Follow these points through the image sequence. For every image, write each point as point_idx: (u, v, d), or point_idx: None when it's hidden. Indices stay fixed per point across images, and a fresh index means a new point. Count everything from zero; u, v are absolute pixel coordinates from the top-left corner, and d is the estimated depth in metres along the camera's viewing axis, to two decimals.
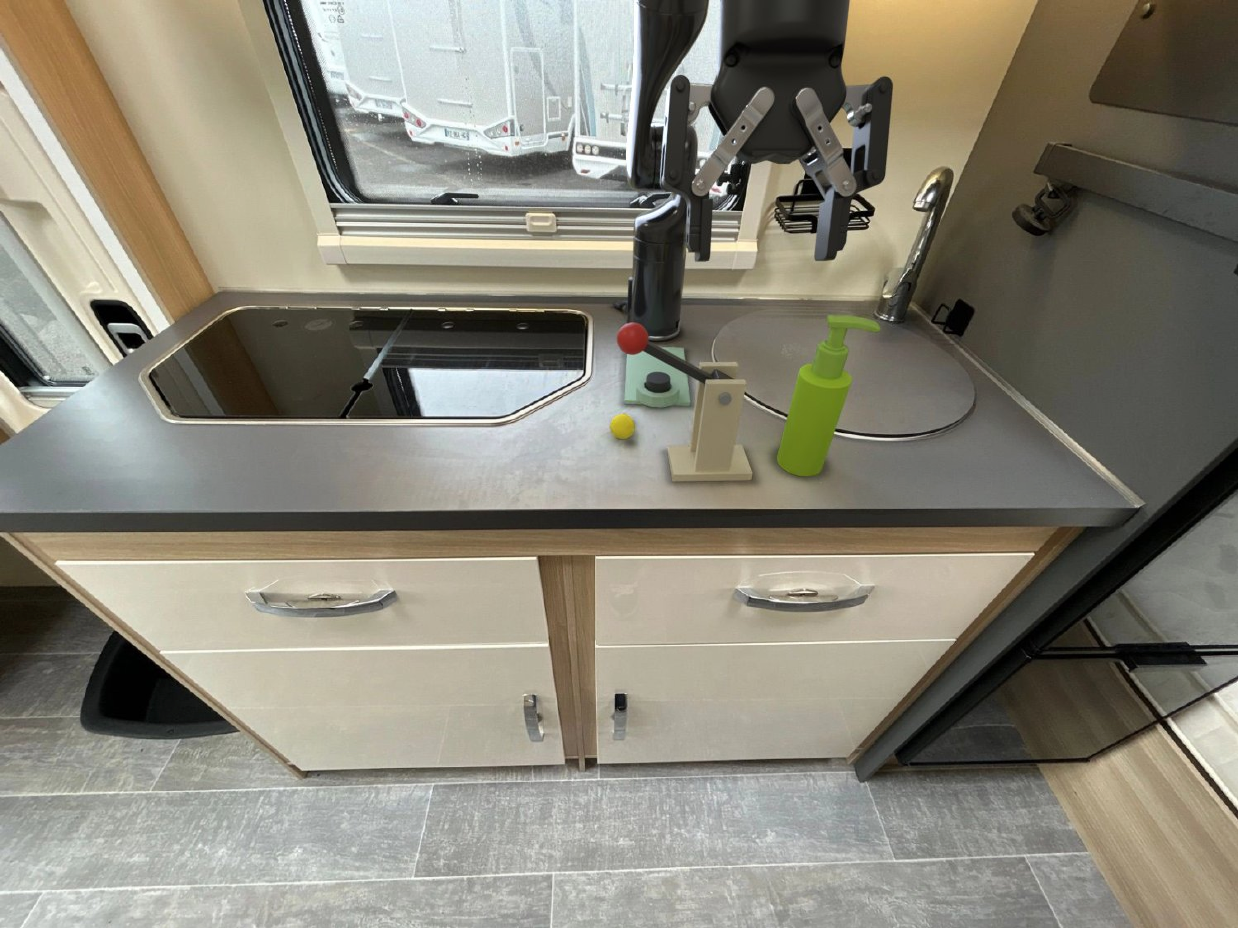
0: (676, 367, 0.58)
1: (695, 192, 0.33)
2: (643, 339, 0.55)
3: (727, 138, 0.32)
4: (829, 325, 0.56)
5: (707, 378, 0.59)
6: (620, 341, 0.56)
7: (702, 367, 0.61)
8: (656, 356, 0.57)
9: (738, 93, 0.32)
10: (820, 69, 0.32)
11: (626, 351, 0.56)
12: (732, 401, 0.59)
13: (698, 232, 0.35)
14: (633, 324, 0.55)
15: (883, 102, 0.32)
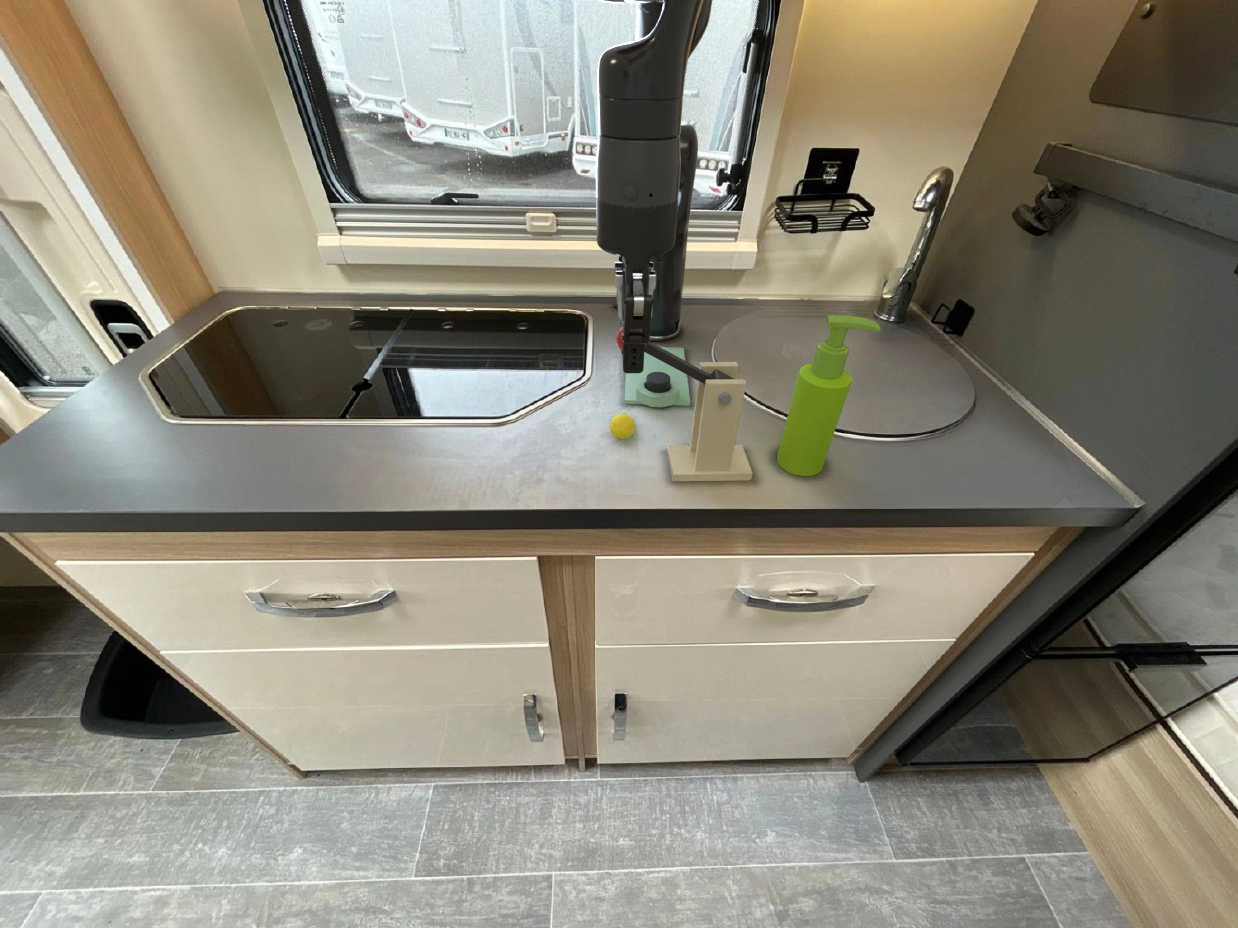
0: (676, 367, 0.58)
1: None
2: None
3: (616, 291, 0.55)
4: (829, 325, 0.56)
5: (707, 378, 0.59)
6: (620, 341, 0.56)
7: (702, 367, 0.61)
8: (656, 356, 0.57)
9: (622, 258, 0.54)
10: (625, 262, 0.49)
11: None
12: (732, 401, 0.59)
13: None
14: None
15: (625, 308, 0.48)
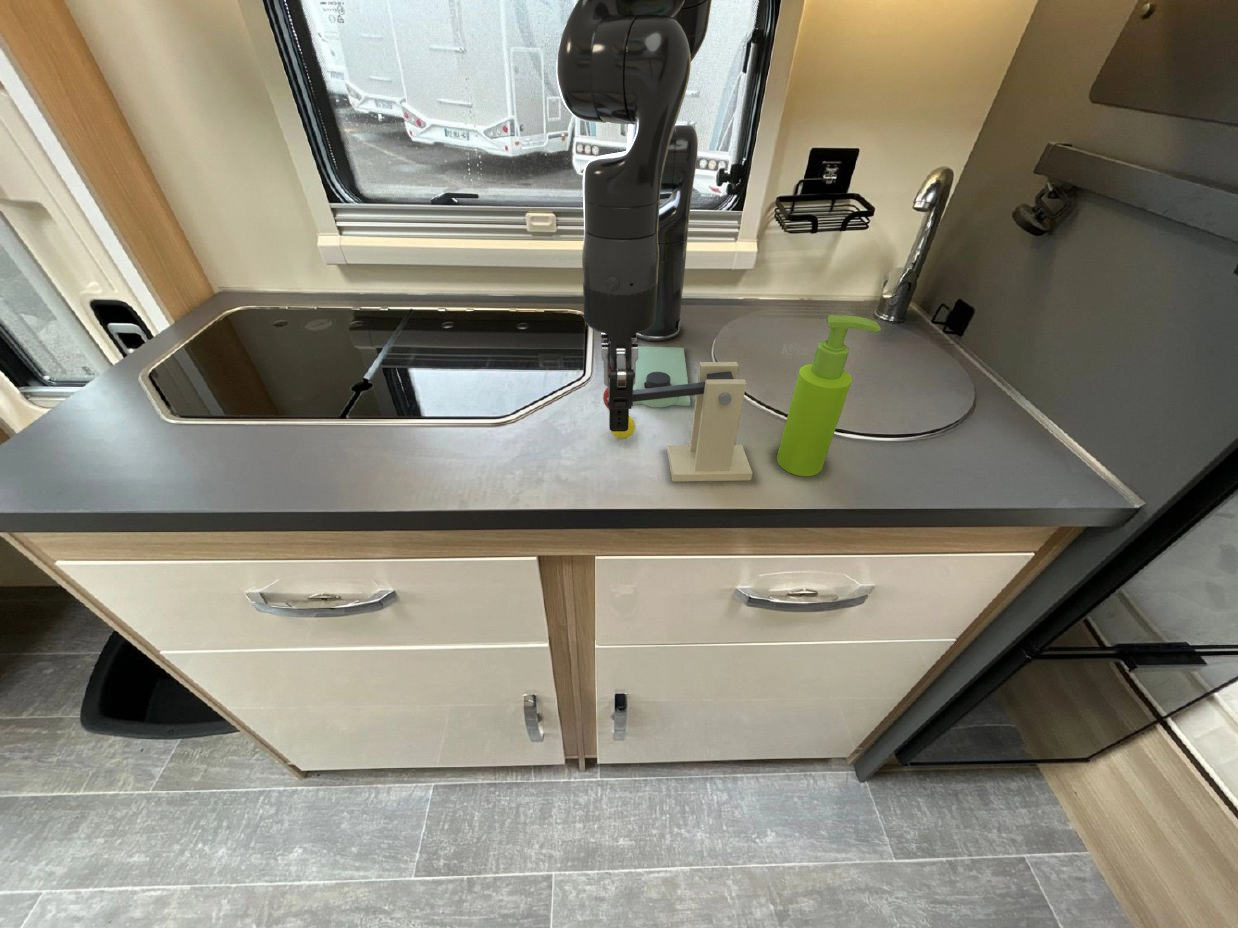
0: (668, 396, 0.61)
1: None
2: None
3: None
4: (829, 325, 0.56)
5: (702, 388, 0.60)
6: (607, 407, 0.61)
7: (702, 367, 0.61)
8: (645, 399, 0.61)
9: None
10: None
11: None
12: (732, 401, 0.59)
13: None
14: None
15: (609, 381, 0.53)
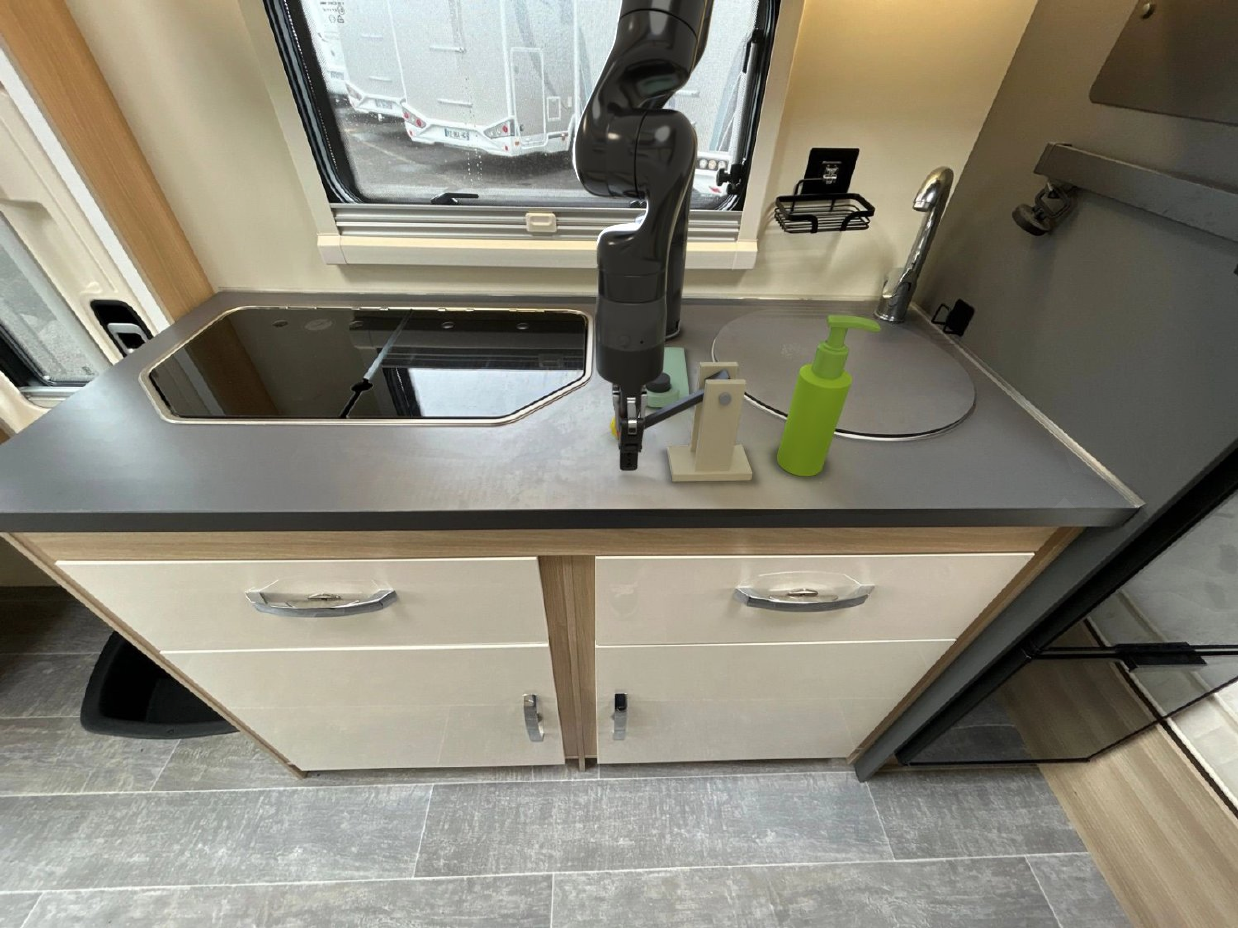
0: (674, 413, 0.62)
1: None
2: None
3: None
4: (829, 325, 0.56)
5: (702, 395, 0.61)
6: None
7: (702, 367, 0.61)
8: (654, 423, 0.63)
9: None
10: (620, 387, 0.58)
11: None
12: (732, 401, 0.59)
13: None
14: None
15: None
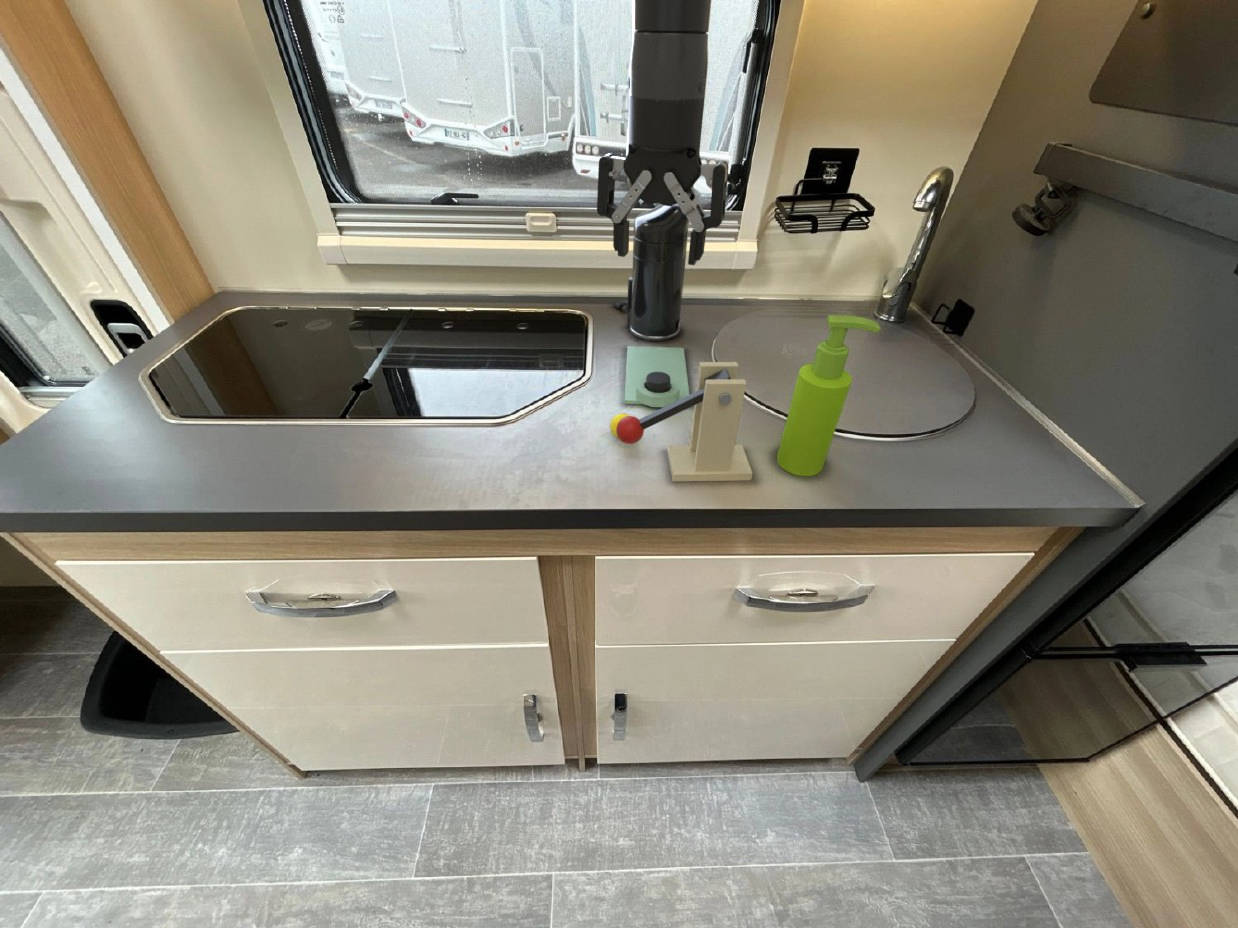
0: (674, 413, 0.62)
1: (613, 221, 0.60)
2: (631, 427, 0.62)
3: (627, 195, 0.57)
4: (829, 325, 0.56)
5: (702, 395, 0.61)
6: (623, 441, 0.64)
7: (702, 367, 0.61)
8: (654, 422, 0.63)
9: (635, 168, 0.56)
10: (681, 158, 0.54)
11: (633, 442, 0.64)
12: (732, 401, 0.59)
13: (618, 241, 0.62)
14: (618, 424, 0.63)
15: (719, 180, 0.54)
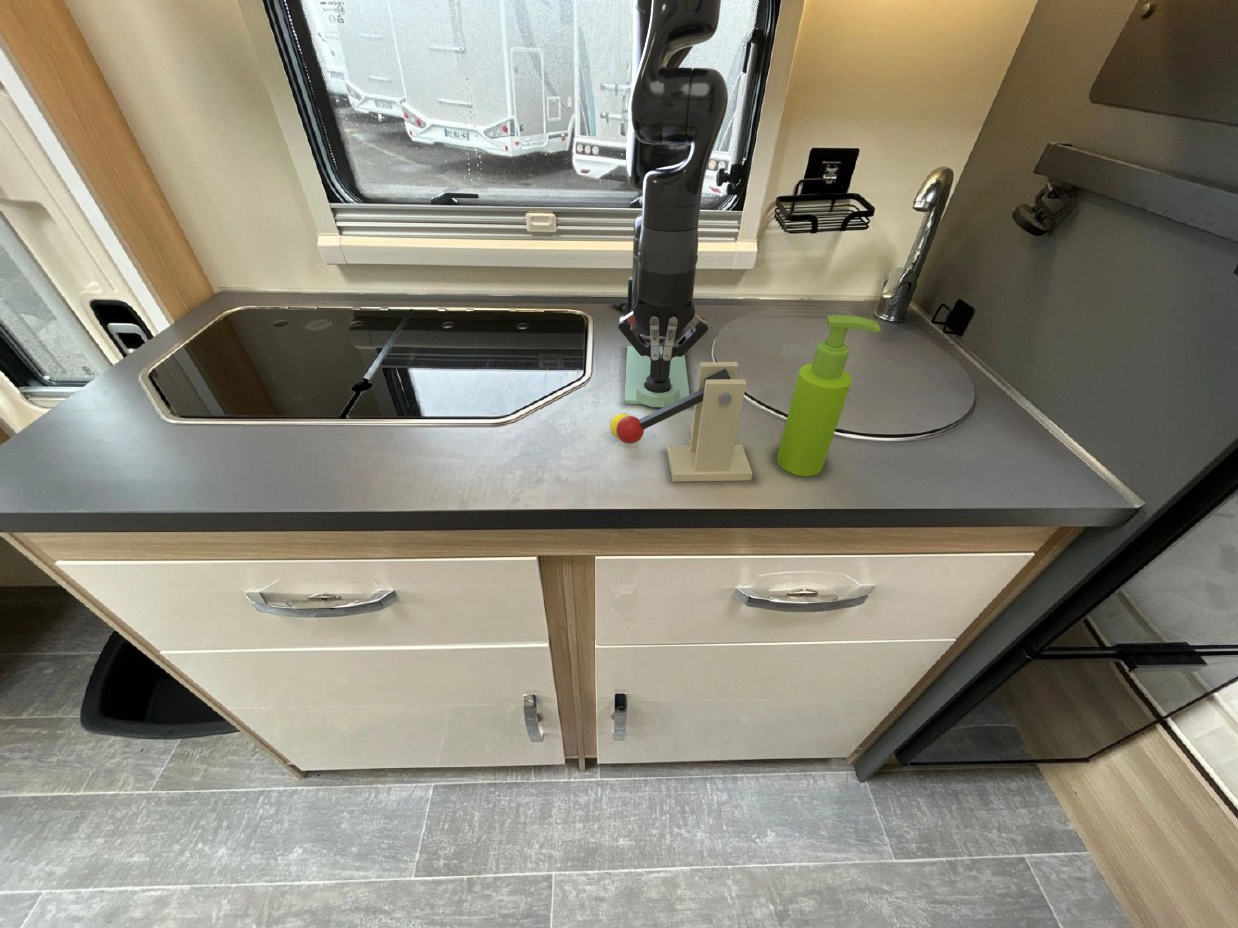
0: (674, 413, 0.62)
1: (654, 360, 0.75)
2: (631, 427, 0.62)
3: (651, 339, 0.72)
4: (829, 325, 0.56)
5: (702, 395, 0.61)
6: (623, 441, 0.64)
7: (702, 367, 0.61)
8: (654, 422, 0.63)
9: (644, 314, 0.71)
10: (681, 306, 0.70)
11: (633, 442, 0.64)
12: (732, 401, 0.59)
13: (654, 371, 0.77)
14: (618, 424, 0.63)
15: (700, 333, 0.72)
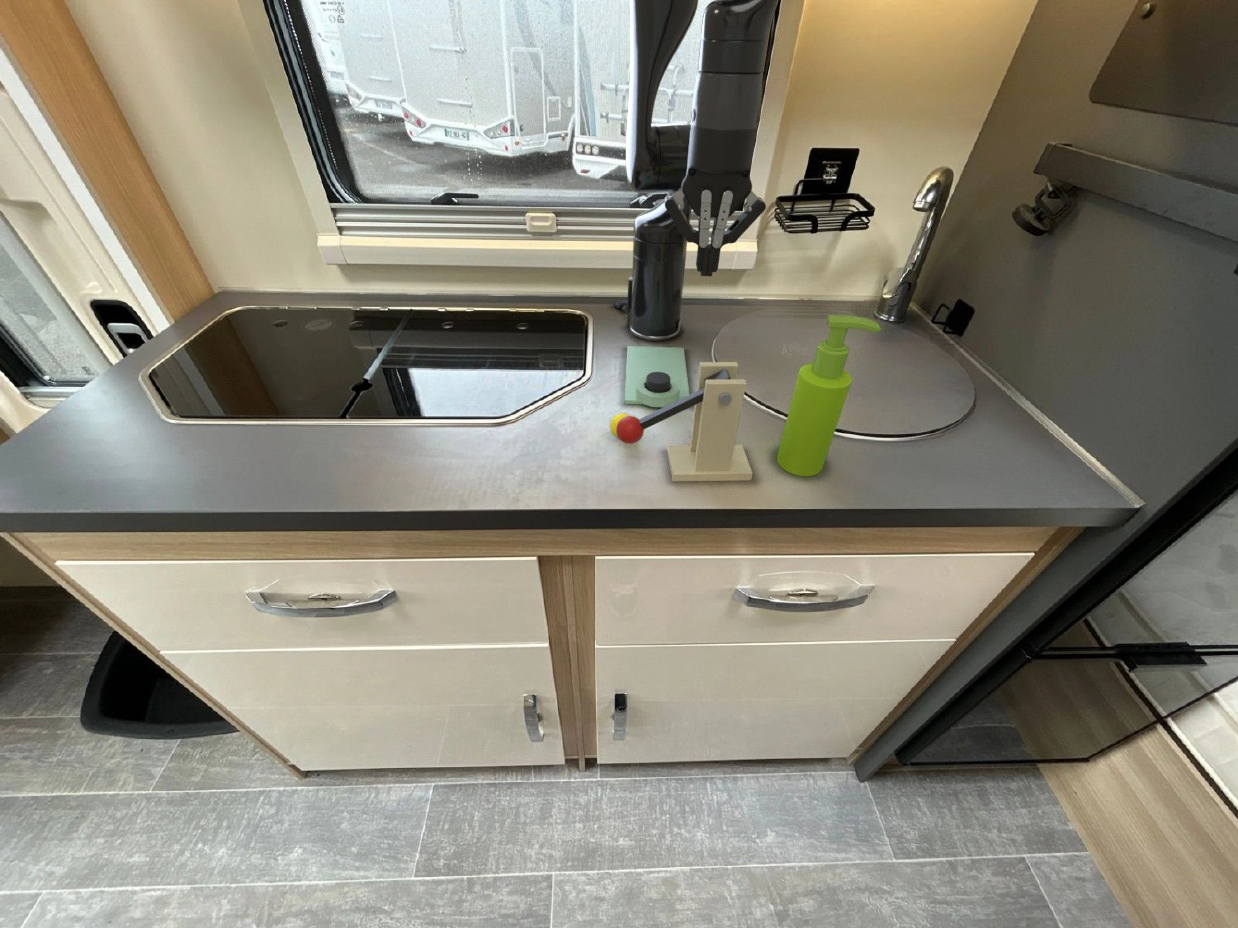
0: (674, 413, 0.62)
1: (703, 247, 0.67)
2: (631, 427, 0.62)
3: (702, 220, 0.65)
4: (829, 325, 0.56)
5: (702, 395, 0.61)
6: (623, 441, 0.64)
7: (702, 367, 0.61)
8: (654, 422, 0.63)
9: (694, 188, 0.63)
10: (737, 178, 0.62)
11: (633, 442, 0.64)
12: (732, 401, 0.59)
13: (701, 262, 0.69)
14: (618, 424, 0.63)
15: (756, 213, 0.64)
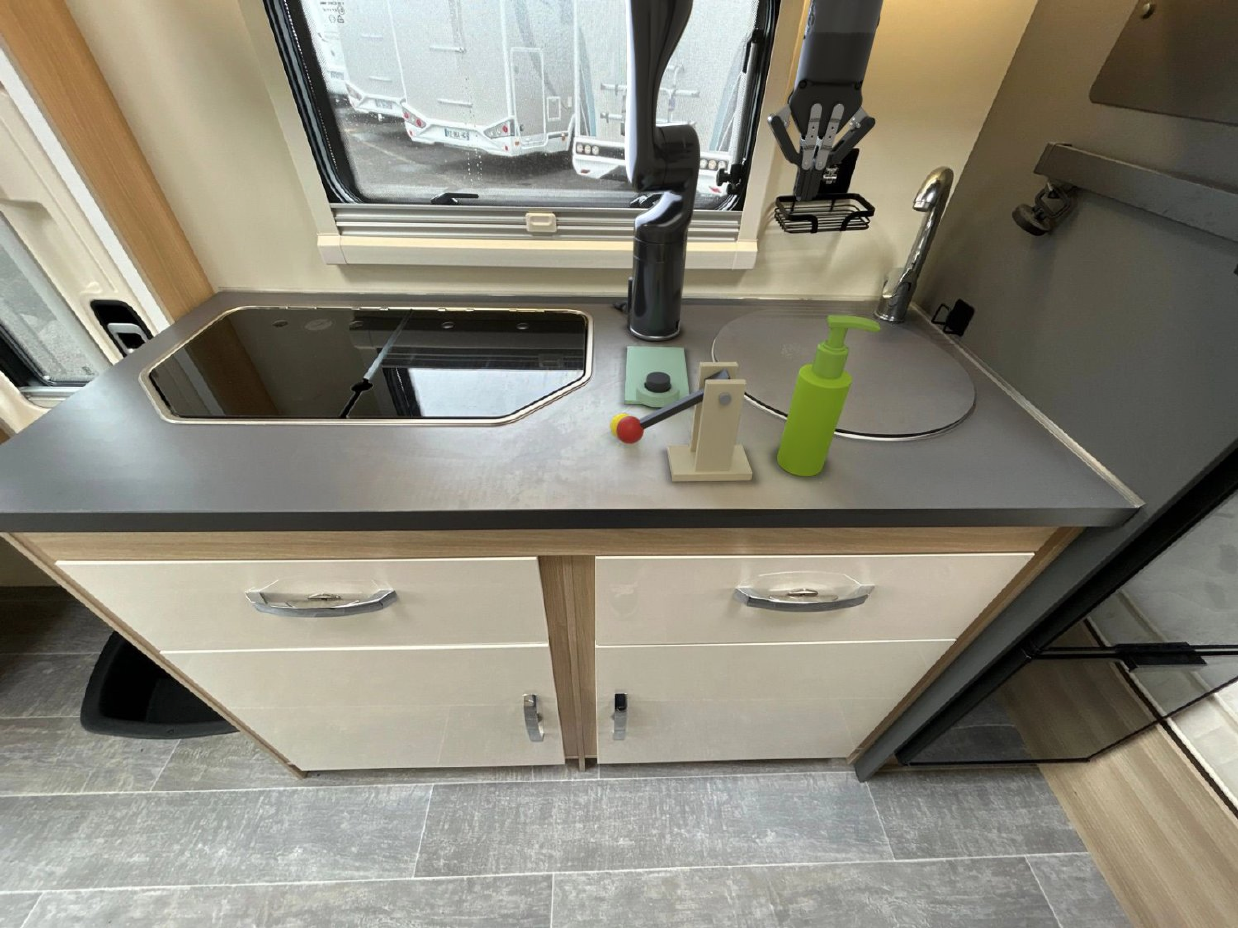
0: (674, 413, 0.62)
1: (805, 169, 0.65)
2: (631, 427, 0.62)
3: (808, 138, 0.63)
4: (829, 325, 0.56)
5: (702, 395, 0.61)
6: (623, 441, 0.64)
7: (702, 367, 0.61)
8: (654, 422, 0.63)
9: (803, 103, 0.61)
10: (849, 90, 0.60)
11: (633, 442, 0.64)
12: (732, 401, 0.59)
13: (801, 187, 0.67)
14: (618, 424, 0.63)
15: (865, 130, 0.62)
